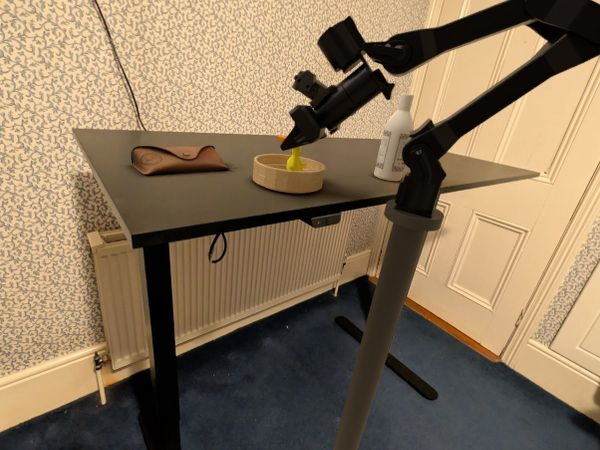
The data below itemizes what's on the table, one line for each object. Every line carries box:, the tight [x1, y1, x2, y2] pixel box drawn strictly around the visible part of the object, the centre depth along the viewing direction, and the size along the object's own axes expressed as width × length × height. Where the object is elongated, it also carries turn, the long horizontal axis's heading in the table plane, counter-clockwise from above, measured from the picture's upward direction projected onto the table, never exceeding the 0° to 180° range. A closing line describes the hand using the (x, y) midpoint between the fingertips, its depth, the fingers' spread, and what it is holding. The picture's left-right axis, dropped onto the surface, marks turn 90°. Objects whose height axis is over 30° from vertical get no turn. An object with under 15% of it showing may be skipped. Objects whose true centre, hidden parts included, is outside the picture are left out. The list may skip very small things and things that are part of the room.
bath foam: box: [373, 93, 415, 182], centre depth 79 cm, size 7×7×20 cm
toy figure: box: [276, 135, 307, 172], centre depth 63 cm, size 7×4×12 cm, turn 78°
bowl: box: [251, 153, 326, 194], centre depth 65 cm, size 14×14×4 cm
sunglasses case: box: [130, 144, 230, 176], centre depth 67 cm, size 18×7×7 cm
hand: (284, 147), depth 64 cm, fingers open, 4 cm apart
